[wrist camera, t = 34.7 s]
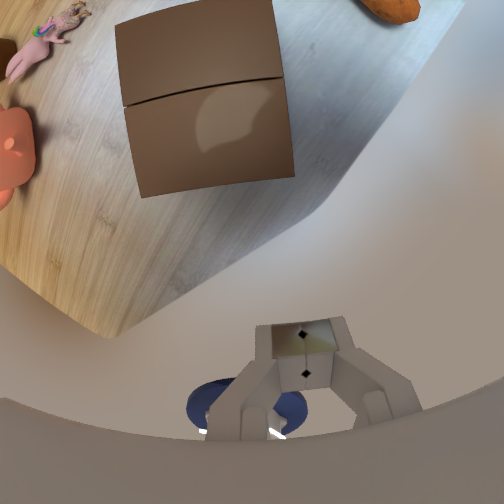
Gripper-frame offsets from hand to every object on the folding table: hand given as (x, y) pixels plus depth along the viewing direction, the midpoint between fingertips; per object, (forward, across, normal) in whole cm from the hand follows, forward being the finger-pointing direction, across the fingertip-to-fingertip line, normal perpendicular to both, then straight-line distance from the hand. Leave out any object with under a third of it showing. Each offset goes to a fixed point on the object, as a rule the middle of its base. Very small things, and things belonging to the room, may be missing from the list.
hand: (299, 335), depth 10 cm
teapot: (+26, +34, -12) cm, 44 cm away
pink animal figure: (+26, +27, -26) cm, 45 cm away
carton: (+26, +4, -10) cm, 28 cm away
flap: (+14, +4, -6) cm, 16 cm away
